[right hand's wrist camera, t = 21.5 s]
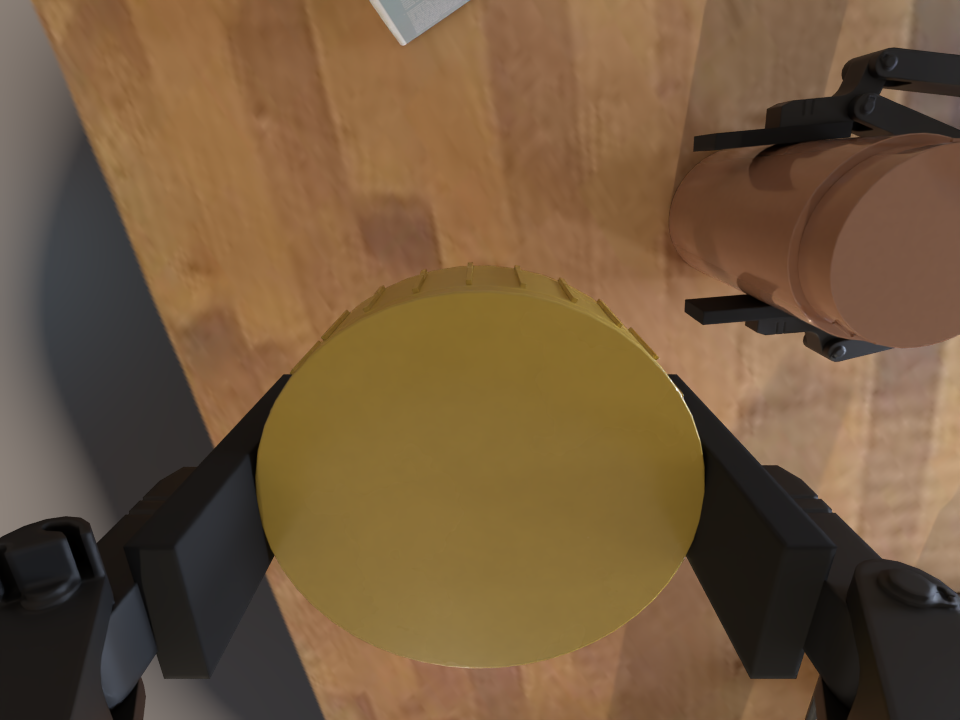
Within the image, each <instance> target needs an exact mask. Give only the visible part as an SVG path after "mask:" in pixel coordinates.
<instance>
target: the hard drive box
mask: <svg viewBox="0 0 960 720" xmlns="http://www.w3.org/2000/svg"><path fill="white" fill-rule="evenodd" d="M369 1H370V2H371V4H372V5H373V7H374V8H375V10H376V11H377V13H378V14H379V16H380V17H381V19H382V20H383V21H384V23H385V24H386V26H387V27H388V29H389V30H390V31H391V33H392V34H393V35H394V36H395V38H396V39H397V41H398V42H399V43H400V45H403V46H404V45H406V44H407V43H409V42H410V41H412V40H413V39H415V38H416V37H418V36H419V35H421V34H422V33H424V32H425V31H426V30H428V29H429V28H431V27H432V26H434V25H435V24H437V23H438V22H440V21H441V20H442V19H444V18H445V17H447V16H448V15H450V14H451V13H452V12H454V11H455V10H457V9H458V8H460V7H461V6H462V5H464V4H465V3H467V2H468V1H470V0H369Z"/></svg>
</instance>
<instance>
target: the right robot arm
mask: <svg viewBox="0 0 960 720" xmlns="http://www.w3.org/2000/svg"><path fill="white" fill-rule="evenodd" d="M667 375H668V376H669V378H670V379H671V380H672V382H673V383H674V384H675V385H676V386H677V387H678V388H679V389H680V391H681V392H682V393H683V395H684V396H683V399H684V401H685V403H686V405H687V407H688V408H689V410H690V412H691V414H692V416H693V419H694V422H695V426H696V429H697V432H698V435H699V438H700V441H701V447H702V453H703V459H704V465H705V493H704V498H703V504H702V509H701V515H700V520H699V524H698V527H697V530H696V533H695V536H694V539H693V542H692V544H691V546H690V548H689V550H688V552H687V554H686V557H687V559H688V561H689V562H690V564H691V566H692V568H693V570H694V572H695V574H696V576H697V578H698V580H699V581H700V583H701V585H702V587H703V589H704V591H705V593H706V595H707V597H708V599H709V601H710V602H711V604H712V606H713V608H714V610H715V612H716V614H717V616H718V618H719V620H720V622H721V623H722V625H723V627H724V629H725V631H726V633H727V635H728V637H729V639H730V641H731V642H732V644H733V646H734V648H735V650H736V652H737V654H738V656H739V658H740V660H741V662H742V663H743V665H744V667H745V669H746V671H747V673H748V675H749V677H750V679H796V678H797V675H798V671H799V668H800V665H801V662H802V659H803V655H804V652H805V653H806V654H807V656H808V657H809V659H810V660H811V662H812V663H813V665H814V666H815V668H816V669H817V671H818V672H819V674H820V675H819V678H818V681H817V684H816V687H815V690H814V693H813V696H812V699H811V702H810V705H809V708H808V711H807V714H806V717H805V720H816V719H817V720H960V594H957V593H955V592H954V591H953V590H952V589H950V588H949V587H948V586H947V585H945V584H944V583H943V582H941V581H940V580H939V579H937V578H935V577H933V576H931V575H929V574H928V573H926V572H924V571H922V570H920V569H918V568H915V567H912V566H909V565H907V564H904V563H901V562H898V561H892V560H886V559H882V558H881V557H880V556H879V555H878V554H877V553H876V552H875V551H874V550H873V549H872V548H871V547H870V546H869V545H868V544H867V543H866V542H865V541H863V540H862V539H861V538H860V537H859V536H858V535H857V534H856V533H855V532H854V531H853V530H852V529H851V528H850V527H849V526H848V525H847V524H846V523H845V522H844V521H843V520H842V519H841V518H840V517H839V516H838V515H837V514H836V513H832V509H831V508H830V507H829V506H828V505H827V504H826V503H825V502H824V501H823V500H822V499H818V495H817V494H816V493H815V492H814V491H813V490H812V489H811V488H810V487H809V486H808V485H807V484H806V483H804V482H803V481H802V480H801V479H800V478H798V477H796V476H795V475H793V474H791V473H790V472H788V471H786V470H784V469H783V468H781V467H779V466H778V465H761V464H760V463H759V462H758V461H757V460H756V459H755V458H754V457H753V456H752V455H751V454H750V452H749V451H748V450H747V449H746V448H745V447H744V446H743V445H742V444H741V443H740V442H739V441H738V440H737V438H736V437H735V436H734V435H733V434H732V433H731V432H730V431H729V430H728V429H727V428H726V427H725V426H724V425H723V423H722V422H721V421H720V420H719V419H718V418H717V417H716V416H715V415H714V414H713V413H712V412H711V411H710V410H709V408H708V407H707V406H706V405H705V404H704V403H703V402H702V401H701V400H700V399H699V398H698V397H697V396H696V395H695V393H694V392H693V391H692V390H691V389H690V388H689V387H688V386H687V385H686V384H685V383H684V382H683V381H682V380H681V378H680V377H679V376H678V375H677V374H667ZM291 376H292V375H291V374H284V375H283V376H282V377H281V378H280V379H279V380H278V381H277V382H276V383H275V384H274V385H273V386H272V387H271V388H270V390H269V391H268V392H267V393H266V394H265V395H264V396H263V397H262V398H261V399H260V400H259V401H258V402H257V403H256V405H255V406H254V407H253V408H252V409H251V410H250V411H249V412H248V413H247V414H246V415H245V416H244V417H243V418H242V420H241V421H240V422H239V423H238V424H237V425H236V426H235V427H234V428H233V429H232V430H231V431H230V432H229V434H228V435H227V436H226V437H225V438H224V439H223V440H222V441H221V442H220V443H219V444H218V445H217V446H216V447H215V449H214V450H213V451H212V452H211V453H210V454H209V455H208V456H207V457H206V458H205V459H204V460H203V462H201V464H200V465H199V466H198V467H183V468H181V469H179V470H178V471H176V472H174V473H172V474H171V475H169V476H167V477H166V478H164V479H162V480H160V481H159V482H158V483H157V484H156V485H155V486H154V487H153V488H152V489H151V490H150V491H149V492H148V493H147V494H146V495H145V496H144V497H143V500H142V501H139V502H138V503H137V504H136V505H135V506H134V507H133V508H132V509H131V510H130V511H129V515H125V516H124V517H123V518H122V519H121V520H120V521H119V522H118V523H117V524H116V525H115V526H114V527H113V528H112V529H111V530H110V531H109V532H108V533H107V534H106V535H105V536H104V537H103V538H102V539H100V540H99V541H98V542H97V543H96V541H95V538H94V535H93V532H92V529H91V526H90V523H88V522H87V521H85V520H84V519H82V518H79V517H68V516H65V517H58V518H51V519H45V520H42V521H39V522H36V523H32V524H29V525H26V526H23V527H21V528H19V529H17V530H15V531H13V532H11V533H8V534H6V535H4V536H2V537H1V538H0V720H143V716H144V708H145V699H146V695H145V689H144V684H143V681H142V678H141V676H142V674H143V673H144V671H145V670H146V668H147V667H148V665H149V664H150V662H151V661H152V659H153V658H154V656H155V655H156V654H157V657H158V661H159V664H160V667H161V670H162V673H163V676H164V679H210V677H211V675H212V674H213V672H214V670H215V668H216V666H217V664H218V662H219V660H220V658H221V656H222V654H223V653H224V651H225V649H226V647H227V645H228V643H229V641H230V639H231V637H232V635H233V633H234V632H235V630H236V628H237V626H238V624H239V622H240V620H241V618H242V616H243V614H244V613H245V611H246V609H247V607H248V605H249V603H250V601H251V599H252V597H253V595H254V594H255V592H256V590H257V588H258V586H259V584H260V582H261V580H262V578H263V576H264V574H265V573H266V571H267V569H268V567H269V565H270V563H271V561H272V559H273V557H274V553H273V552H272V550H271V548H270V545H269V543H268V540H267V537H266V535H265V532H264V529H263V527H262V523H261V517H260V512H259V507H258V502H257V496H256V480H255V473H256V463H257V453H258V448H259V444H260V440H261V436H262V433H263V429H264V425H265V423H266V421H267V418H268V416H269V414H270V411H271V408H272V407H273V405H274V403H275V400H276V399H277V397H278V396H279V394H280V393H281V391H282V390H283V388H284V386H285V385H286V383H287V382H288V380H289V379H290V377H291Z"/></svg>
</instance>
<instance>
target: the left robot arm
mask: <svg viewBox="0 0 960 720" xmlns="http://www.w3.org/2000/svg"><path fill="white" fill-rule="evenodd" d="M842 79H843V82H842V84H841V86H840V88H839V90H838V91H837V92H836V93H835V94H834V95H833V96H832V97H824V98H814V99H804V100H793V101H788V102H784V103H779V104H776V105H774V106H772V107H770V108H768V109H767V114H766V124H765V129H757V130H747V131H736V132H726V133H716V134H708V135H701V136H694V149H693V152H695V151H709V150H722V149H732V148H743V147H753V146H764V145H774V144H785V143H796V142H806V141H817V140H827V139H838V138H849V137H851V133H852V134H855V135H857V136H859V137H870V136H883V135H896V134H909V133H932V134H940V135H944V136H948V137H951V138H960V130H959V129H956V128H954V127H952V126H949V125H947V124H945V123H942V122H940V121H938V120H935V119H933V118H931V117H928V116H926V115H924V114H922V113H919V112H917V111H915V110H912V109H910V108H908V107H905V106H903V105H901V104H898V103H896V102H894V101H891V100H889V99H887V98H885V97H882V96H880V95H879V94H880V92H881V90H882V88H885V89H894V90H903V91H912V92H921V93H930V94H938V95H947V96H956V97H960V55H954V54H945V53H937V52H928V51H919V50H910V49H902V48H888V49H884V50H881V51H877V52H874V53H870V54H867V55H863V56H860V57H856V58H853V59H851V60H849V61H848V62H847V63H846V64H845V65H844V67H843V69H842ZM685 312H686V313H687V314H688V315H690V316H691V317H693V318H694V319H695V320H697V321H698V322H700V323H701V324H702V325H707V324H719V323H731V322H743V321H746V322H745V326H747V327H749V328H750V329H752V330H754V331H755V332H757V333H760V334H764V335H773V334H782V333H784V334H785V333H797V332H805V336H804V338H803V343H804V345H805V346H806V347H808V348H810V349H812V350H813V351H815V352H817V353H819V354H821V355H822V356H824V357H826V358H828V359H830V360H831V361H834V362H839V361H843V360H847V359H851V358H855V357H860V356H864V355H868V354H872V353H876V352H880V351H884V350H888V349H892V348H894V347H887V346H882V345H876V344H873V343H870V342H866V341H863V340H850V339H845V338H841V337H837V336H834V335H832V334H829V333H827V332H825V331H823V330H820V329H818V328H816V327H814V326H812V325H810V324H808V323H806V322H804V321H802V320H800V319H798V318H796V317H794V316H791V315H789V314H787V313H785V312H783V311H781V310H779V309H777V308H775V307H773V306H771V305H769V304H767V303H765V302H762V301H760V300H758V299H756V298H754V297H752V296H750V295H748V294H745V295H733V296H722V297H710V298H698V299H687V300H685Z"/></svg>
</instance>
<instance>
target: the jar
mask: <svg viewBox="0 0 960 720" xmlns="http://www.w3.org/2000/svg"><path fill="white" fill-rule="evenodd" d="M669 230H670V235H671V239H672V242H673V245H674V247H675V249H676V251H677V252H678V254H679V255H680V257H681V258H682V259H683V260H684V261H685V262H686V263H687V264H689V265H690V266H691V267H693V268H695V269H696V270H698V271H700V272H702V273H704V274H707V275H709V276H711V277H713V278H715V279H717V280H719V281H721V282H723V283H725V284H727V285H729V286H731V287H733V288H736V289H738V290H740V291H742V292H744V293H746V294H748V295H750V296H752V297H754V298H756V299H758V300H760V301H762V302H765V303H767V304H769V305H771V306H773V307H775V308H777V309H779V310H781V311H783V312H785V313H787V314H789V315H791V316H794V317H796V318H798V319H800V320H802V321H804V322H806V323H808V324H810V325H812V326H814V327H816V328H818V329H820V330H823V331H825V332H827V333H829V334H832V335H834V336H837V337H841V338H845V339H850V340H863V341H866V342H870V343H873V344H876V345H882V346H887V347H894V348H917V347H923V346H929V345H933V344H936V343H940V342H943V341H946V340H948V339H951V338H953V337H956V336H958V335H960V138H951V137H948V136H944V135H940V134H932V133H909V134H896V135H883V136H870V137H856V138H843V139H830V140H817V141H806V142H796V143H785V144H774V145H764V146H753V147H743V148H732V149H723V150H720V151H718V152H716V153H713V154H711V155H710V156H708V157H706V158H705V159H703V160H702V161H700V162H699V163H698V164H697V165H696V166H694V167H693V168H692V169H691V171H690V172H689V173H688V174H687V175H686V176H685V178H684V179H683V180H682V182H681V184H680V185H679V187H678V189H677V191H676V193H675V195H674V198H673V201H672V204H671V208H670V214H669Z"/></svg>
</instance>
